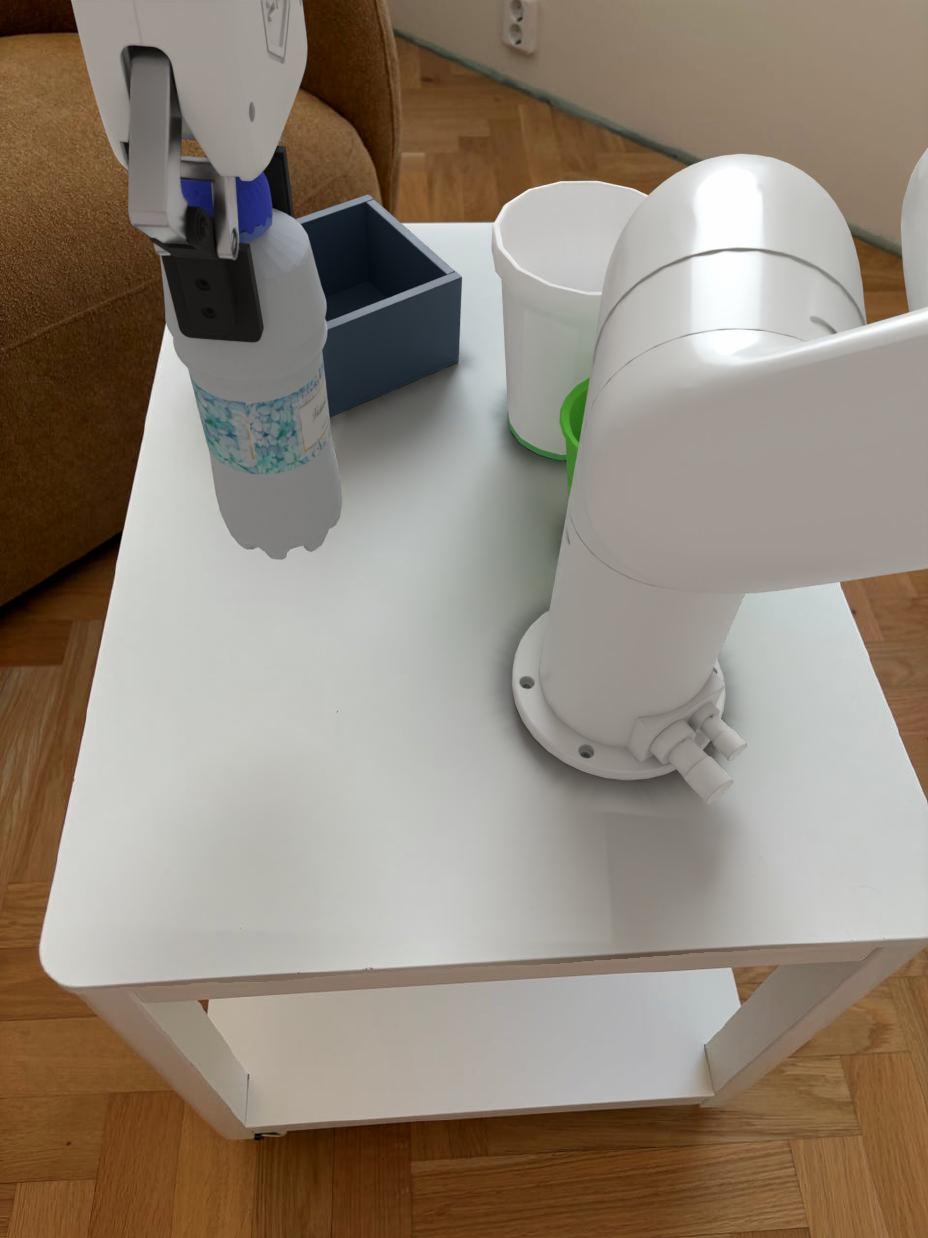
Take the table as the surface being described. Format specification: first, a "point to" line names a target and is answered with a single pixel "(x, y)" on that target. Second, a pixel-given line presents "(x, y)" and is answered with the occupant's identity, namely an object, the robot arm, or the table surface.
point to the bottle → (267, 388)
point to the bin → (380, 302)
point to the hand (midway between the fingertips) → (241, 280)
